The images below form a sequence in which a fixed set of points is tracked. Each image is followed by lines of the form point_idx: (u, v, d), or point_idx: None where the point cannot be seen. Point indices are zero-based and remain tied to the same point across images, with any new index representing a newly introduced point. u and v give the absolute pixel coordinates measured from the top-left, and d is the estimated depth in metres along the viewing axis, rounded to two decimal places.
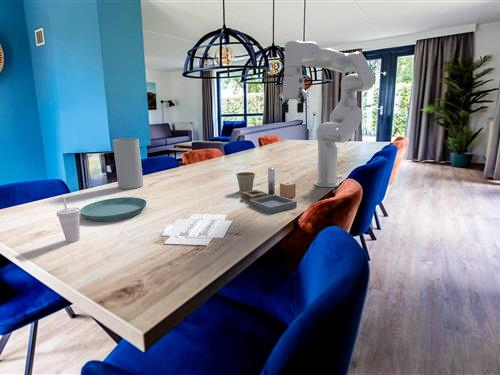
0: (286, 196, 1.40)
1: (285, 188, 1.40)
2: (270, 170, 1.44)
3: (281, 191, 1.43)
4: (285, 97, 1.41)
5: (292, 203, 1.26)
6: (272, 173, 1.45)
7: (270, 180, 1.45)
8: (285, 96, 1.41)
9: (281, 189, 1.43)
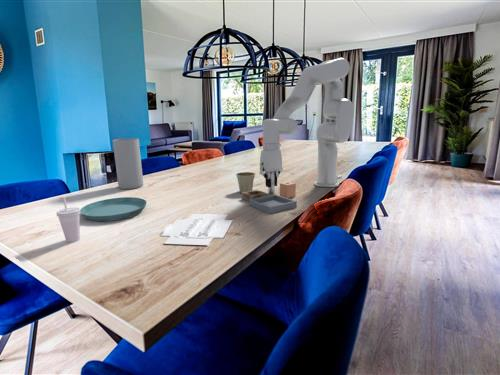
0: (286, 196, 1.40)
1: (285, 188, 1.40)
2: None
3: (281, 191, 1.43)
4: (269, 170, 1.43)
5: (292, 203, 1.26)
6: (272, 173, 1.45)
7: None
8: (270, 169, 1.42)
9: (281, 189, 1.43)
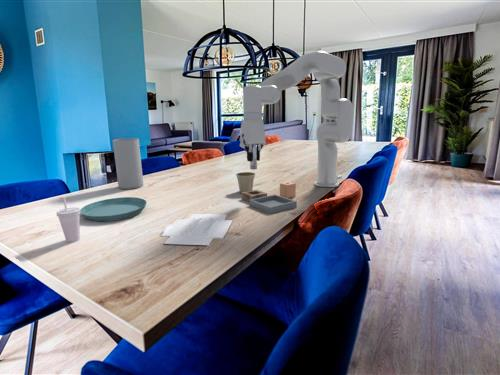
0: (286, 196, 1.40)
1: (285, 188, 1.40)
2: None
3: (281, 191, 1.43)
4: (251, 142, 1.30)
5: (292, 203, 1.26)
6: (254, 146, 1.32)
7: None
8: (251, 141, 1.30)
9: (281, 189, 1.43)
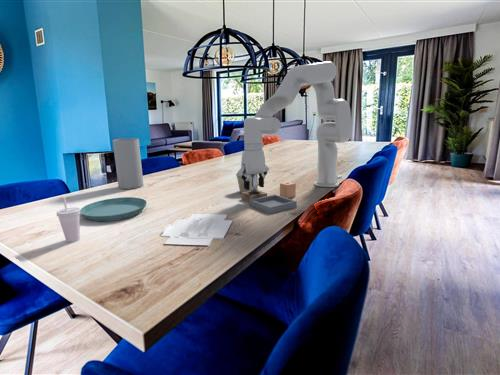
0: (286, 196, 1.40)
1: (285, 188, 1.40)
2: (252, 174, 1.35)
3: (281, 191, 1.43)
4: (251, 173, 1.33)
5: (292, 203, 1.26)
6: (255, 178, 1.36)
7: (253, 185, 1.37)
8: (251, 172, 1.33)
9: (281, 189, 1.43)
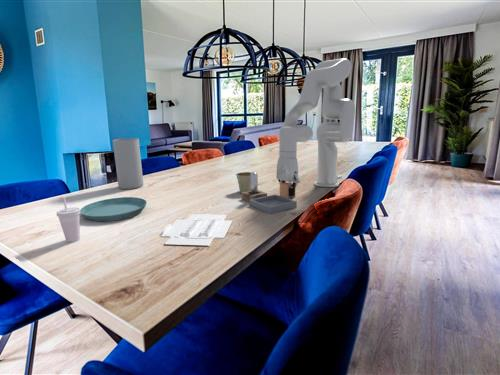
0: (286, 196, 1.40)
1: (285, 188, 1.40)
2: (252, 174, 1.35)
3: (281, 191, 1.43)
4: None
5: (292, 203, 1.26)
6: (255, 178, 1.36)
7: (253, 185, 1.37)
8: None
9: (281, 189, 1.42)
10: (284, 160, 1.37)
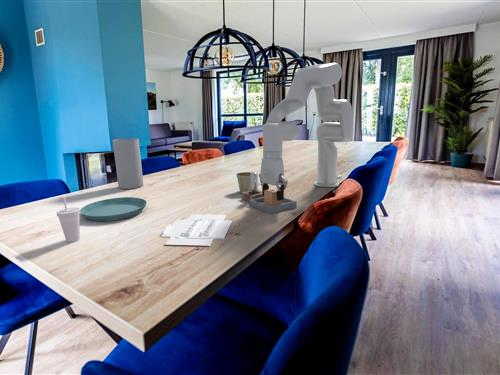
0: (271, 205, 1.26)
1: (270, 196, 1.25)
2: (252, 174, 1.35)
3: (265, 199, 1.28)
4: None
5: (292, 203, 1.26)
6: (255, 178, 1.36)
7: (253, 185, 1.37)
8: None
9: (265, 197, 1.28)
10: (269, 161, 1.22)
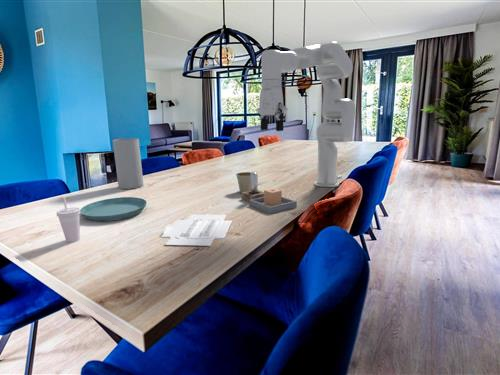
0: (271, 205, 1.26)
1: (270, 196, 1.25)
2: (252, 174, 1.35)
3: (265, 199, 1.28)
4: None
5: (292, 203, 1.26)
6: (255, 178, 1.36)
7: (253, 185, 1.37)
8: None
9: (265, 197, 1.28)
10: (267, 90, 1.19)
